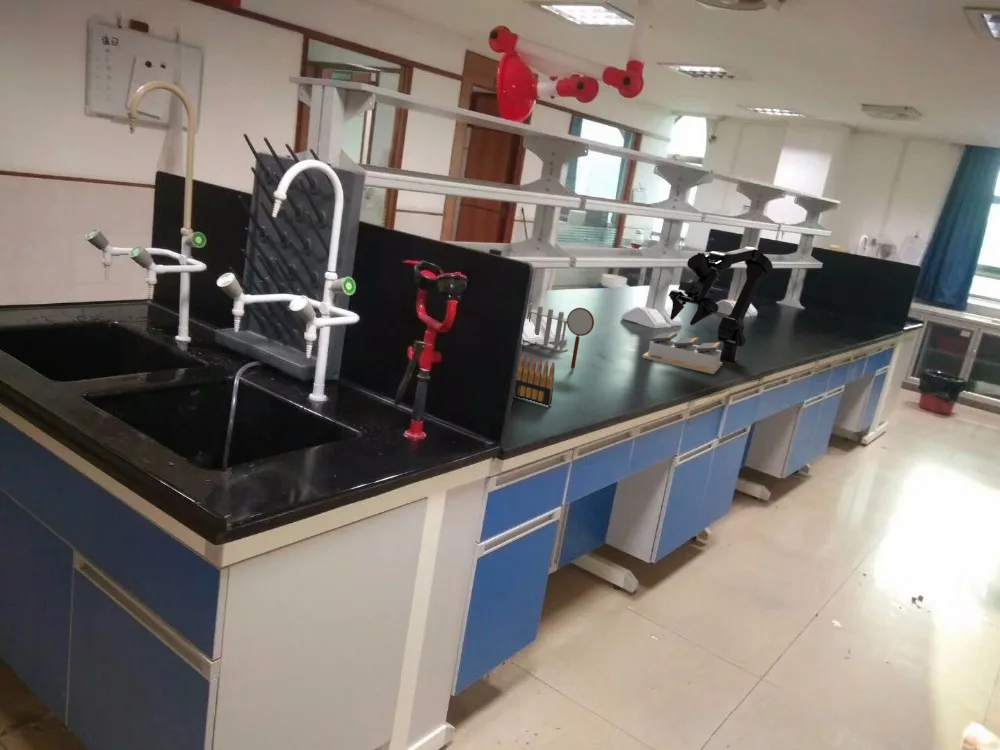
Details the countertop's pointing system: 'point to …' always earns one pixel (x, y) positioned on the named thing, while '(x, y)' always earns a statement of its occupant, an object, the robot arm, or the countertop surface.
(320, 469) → the countertop surface
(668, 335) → the switch
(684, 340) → the switch middle
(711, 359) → the switch unit
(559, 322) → the grey picket fence
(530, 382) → the ammunition clip
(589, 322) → the magnifying glass
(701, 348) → the switch
